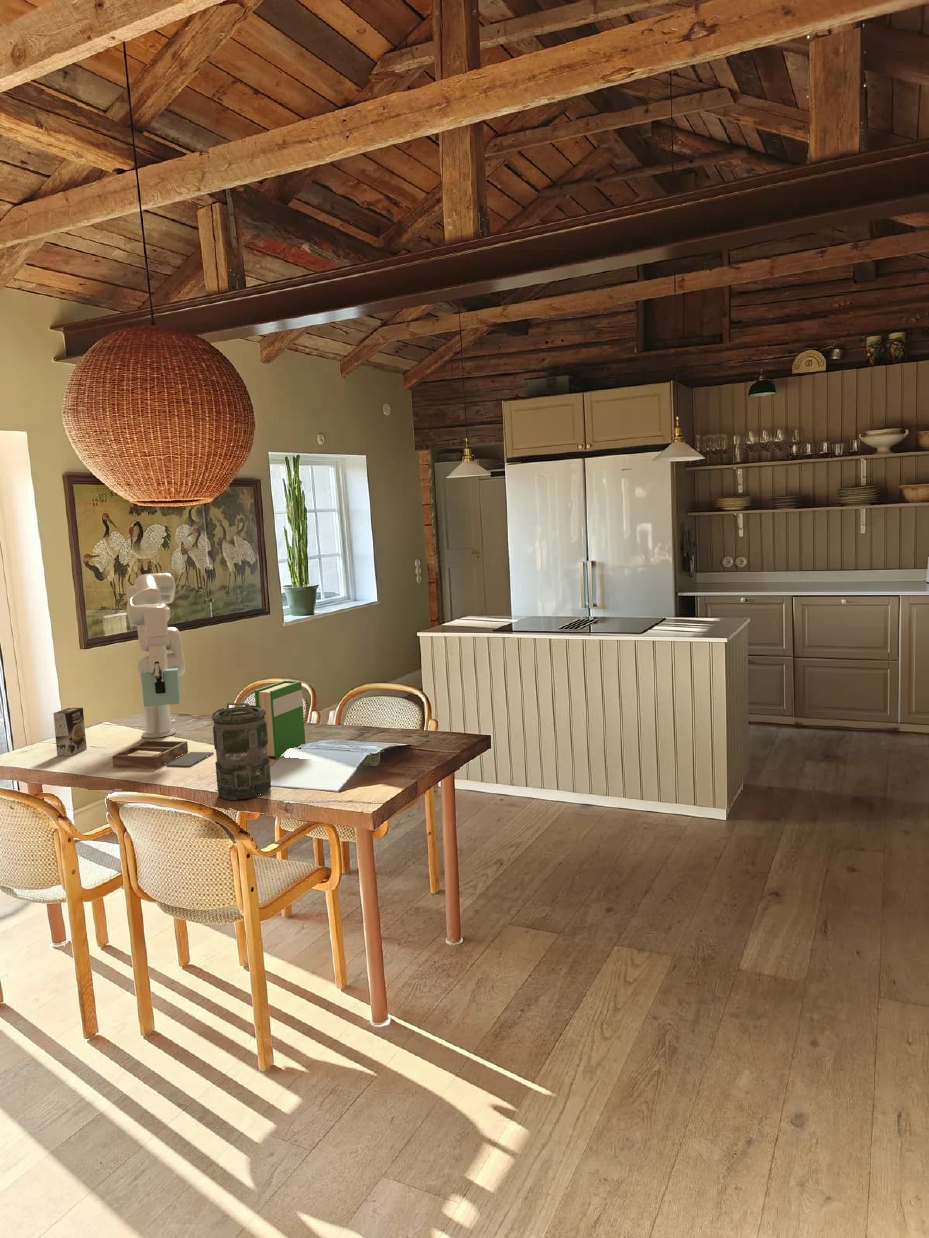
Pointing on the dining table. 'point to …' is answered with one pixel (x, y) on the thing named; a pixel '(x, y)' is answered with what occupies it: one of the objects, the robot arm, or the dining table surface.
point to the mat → (189, 759)
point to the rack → (168, 753)
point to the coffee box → (70, 731)
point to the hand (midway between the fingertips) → (161, 691)
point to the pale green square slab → (171, 688)
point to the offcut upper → (144, 753)
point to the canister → (241, 751)
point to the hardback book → (282, 715)
